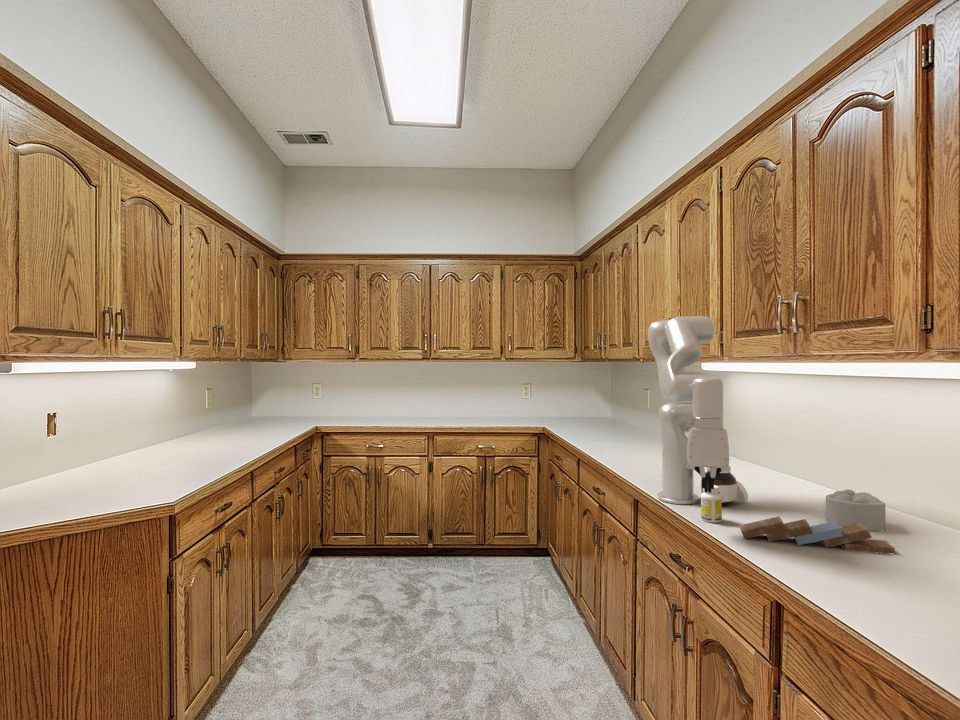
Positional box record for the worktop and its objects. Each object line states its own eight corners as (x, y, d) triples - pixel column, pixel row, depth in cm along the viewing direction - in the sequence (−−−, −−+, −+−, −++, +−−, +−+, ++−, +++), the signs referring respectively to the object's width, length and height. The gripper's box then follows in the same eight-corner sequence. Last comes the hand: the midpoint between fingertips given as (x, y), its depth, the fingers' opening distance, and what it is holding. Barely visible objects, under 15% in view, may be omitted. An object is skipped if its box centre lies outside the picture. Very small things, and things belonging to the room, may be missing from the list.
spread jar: (697, 501, 166) (697, 465, 166) (715, 495, 173) (715, 460, 173) (734, 510, 157) (734, 472, 157) (752, 503, 164) (752, 466, 163)
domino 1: (741, 531, 133) (782, 522, 130) (739, 525, 138) (779, 516, 135) (744, 539, 133) (786, 529, 130) (742, 532, 138) (782, 523, 134)
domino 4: (844, 543, 125) (894, 547, 122) (837, 536, 130) (885, 540, 127) (844, 551, 125) (894, 556, 122) (838, 544, 130) (885, 548, 127)
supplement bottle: (720, 517, 150) (719, 484, 150) (723, 524, 145) (723, 489, 145) (700, 516, 151) (699, 483, 151) (702, 522, 146) (702, 488, 146)
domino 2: (766, 534, 131) (809, 525, 128) (763, 527, 136) (805, 518, 132) (769, 541, 131) (812, 532, 127) (766, 535, 136) (808, 526, 132)
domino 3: (822, 539, 127) (868, 529, 124) (816, 533, 131) (859, 523, 128) (826, 547, 126) (871, 537, 124) (819, 540, 131) (863, 530, 128)
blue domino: (795, 537, 129) (839, 528, 125) (790, 530, 133) (833, 521, 130) (798, 545, 128) (843, 536, 125) (794, 538, 133) (837, 529, 130)
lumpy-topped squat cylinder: (890, 532, 136) (890, 499, 136) (833, 528, 140) (833, 496, 140) (871, 519, 147) (871, 489, 146) (819, 516, 150) (819, 486, 150)
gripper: (677, 424, 137) (677, 492, 138) (740, 426, 132) (740, 497, 133) (677, 420, 145) (677, 485, 145) (737, 422, 139) (737, 489, 140)
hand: (707, 491), depth 139 cm, fingers closed
